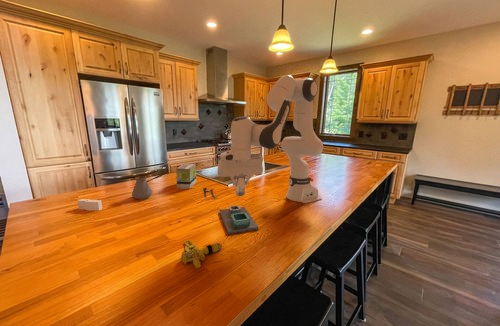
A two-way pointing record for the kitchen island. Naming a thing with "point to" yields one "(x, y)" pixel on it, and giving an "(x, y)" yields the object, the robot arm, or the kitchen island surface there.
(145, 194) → the coffee pot
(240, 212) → the manifold plate
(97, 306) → the kitchen island surface
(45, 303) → the kitchen island surface
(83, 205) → the white rectangular block
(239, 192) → the fitting
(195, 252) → the sprinkler
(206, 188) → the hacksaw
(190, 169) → the tea box
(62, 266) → the kitchen island surface
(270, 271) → the kitchen island surface
